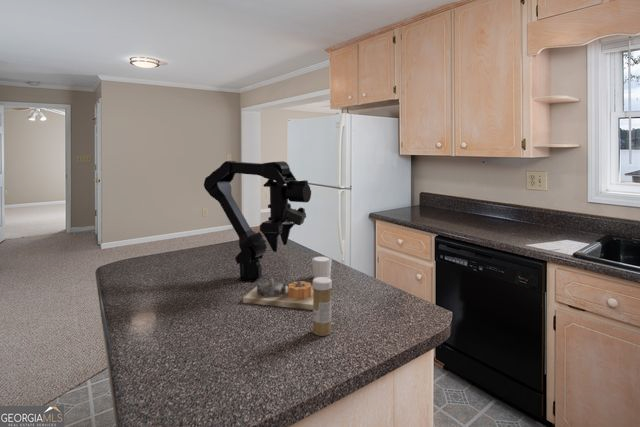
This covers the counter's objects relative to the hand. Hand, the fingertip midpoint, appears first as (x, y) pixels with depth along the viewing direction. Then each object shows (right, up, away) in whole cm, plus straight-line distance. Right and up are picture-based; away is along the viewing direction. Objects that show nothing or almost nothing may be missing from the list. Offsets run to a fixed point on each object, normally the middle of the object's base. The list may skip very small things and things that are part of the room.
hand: (280, 248), depth 124 cm
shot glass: (+14, -11, +7) cm, 19 cm away
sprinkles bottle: (+14, -18, -32) cm, 39 cm away
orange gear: (+7, -13, -12) cm, 19 cm away
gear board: (+3, -14, -11) cm, 18 cm away
